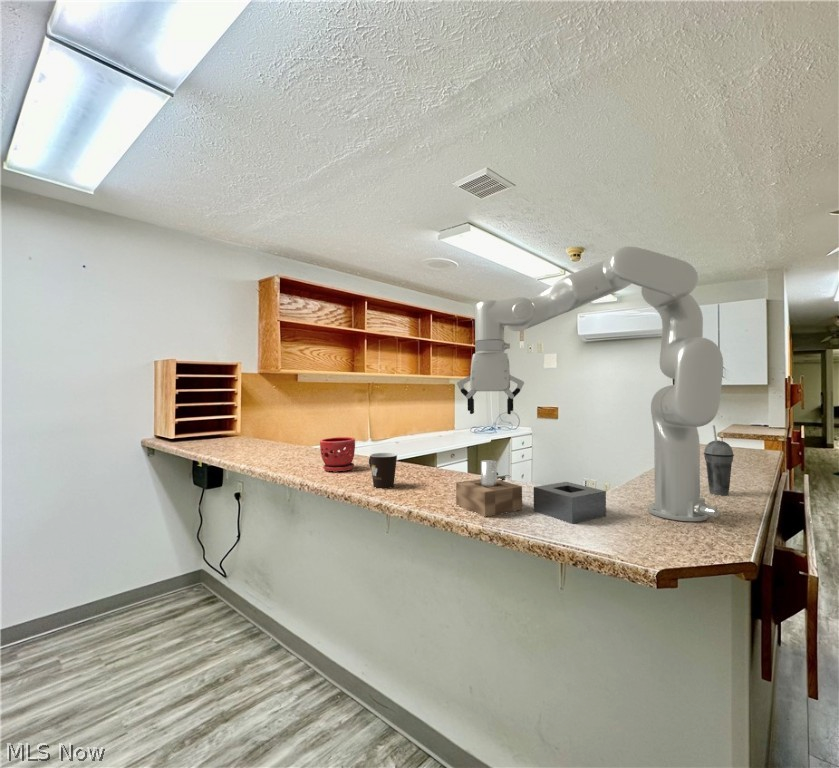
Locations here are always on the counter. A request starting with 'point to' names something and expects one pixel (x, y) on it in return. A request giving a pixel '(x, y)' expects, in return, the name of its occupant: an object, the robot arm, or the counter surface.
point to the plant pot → (337, 453)
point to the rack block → (489, 497)
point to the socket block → (570, 502)
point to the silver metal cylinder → (488, 473)
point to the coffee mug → (383, 469)
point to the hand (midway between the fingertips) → (490, 413)
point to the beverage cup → (718, 466)
